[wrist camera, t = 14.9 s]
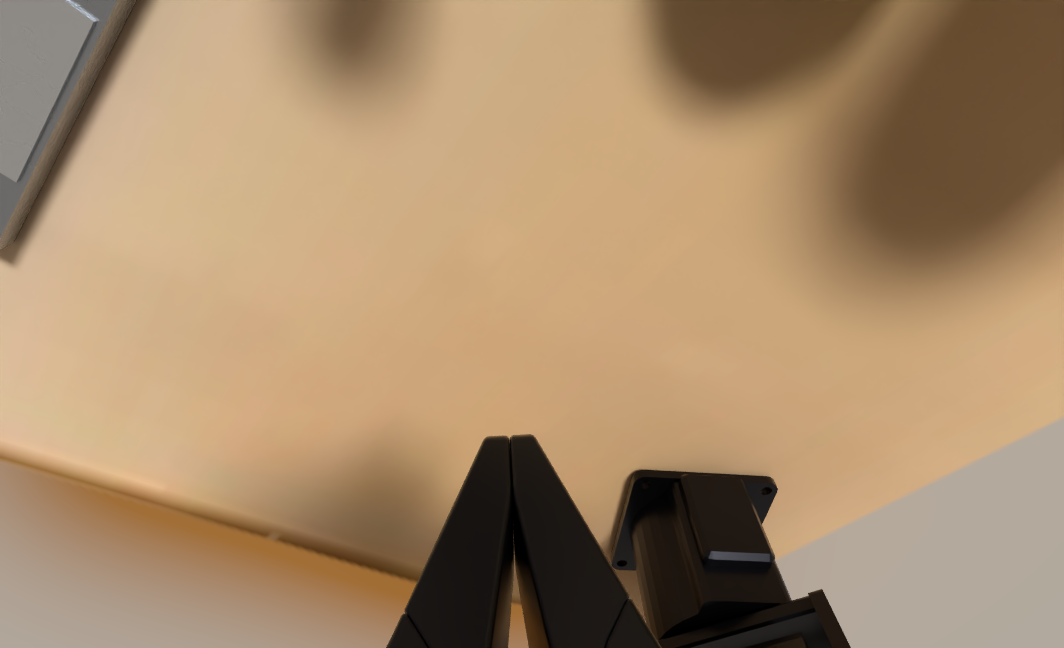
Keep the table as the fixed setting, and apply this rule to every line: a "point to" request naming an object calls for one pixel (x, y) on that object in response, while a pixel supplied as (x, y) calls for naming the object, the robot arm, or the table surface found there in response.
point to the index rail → (45, 88)
